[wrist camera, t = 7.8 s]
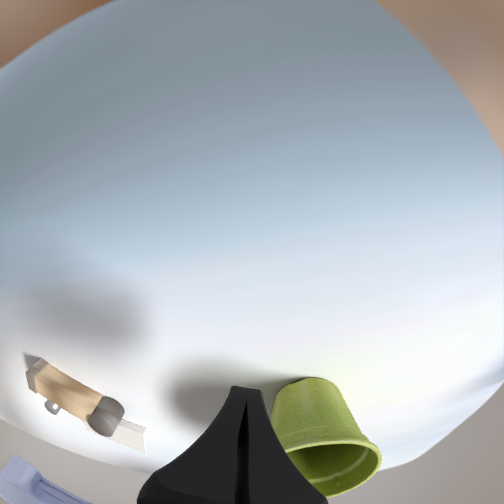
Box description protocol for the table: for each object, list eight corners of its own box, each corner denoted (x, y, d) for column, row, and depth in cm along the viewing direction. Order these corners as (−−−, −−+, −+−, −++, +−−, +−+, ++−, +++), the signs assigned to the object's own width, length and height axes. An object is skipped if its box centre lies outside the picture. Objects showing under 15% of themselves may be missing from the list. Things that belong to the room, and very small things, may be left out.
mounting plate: (147, 446, 27) (145, 452, 26) (90, 424, 27) (86, 429, 26) (146, 427, 26) (143, 434, 25) (84, 403, 26) (81, 409, 25)
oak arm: (125, 404, 25) (112, 426, 22) (123, 419, 26) (112, 440, 23) (40, 357, 25) (23, 373, 21) (42, 374, 25) (27, 390, 22)
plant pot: (278, 348, 22) (280, 432, 14) (376, 372, 22) (407, 444, 14) (242, 419, 25) (233, 493, 16) (328, 436, 25) (339, 502, 17)
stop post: (71, 399, 26) (58, 416, 23) (60, 393, 26) (46, 410, 23) (69, 389, 26) (54, 407, 22) (57, 383, 26) (42, 400, 22)
